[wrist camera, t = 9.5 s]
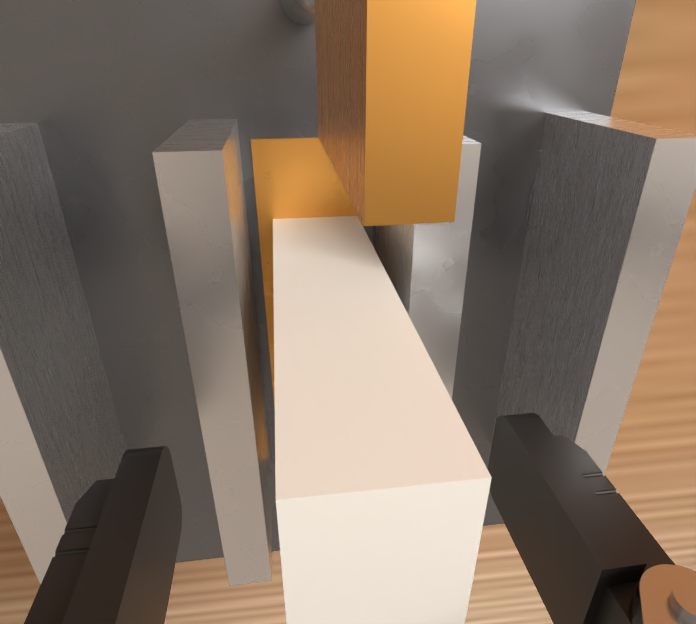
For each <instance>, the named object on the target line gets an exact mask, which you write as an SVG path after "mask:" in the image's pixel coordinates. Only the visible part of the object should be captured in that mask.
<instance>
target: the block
mask: <svg viewBox="0 0 696 624" xmlns="http://www.w3.org/2000/svg"><path fill="white" fill-rule="evenodd" d="M273 290H274V388H275V486H276V510H277V521H278V532H279V543H280V554H281V566H282V577H283V588H284V599H285V610H286V622H287V624H465V619H466V614H467V608H468V603H469V598H470V592H471V587H472V581H473V576H474V570H475V565H476V560H477V554H478V549H479V543H480V538H481V533H482V527H483V522H484V516H485V511H486V506H487V500H488V495H489V489H490V484H491V479H492V477H491V475H490V473H489V471H488V470H487V468H486V466H485V464H484V462H483V460H482V458H481V456H480V454H479V452H478V450H477V448H476V446H475V444H474V442H473V440H472V438H471V436H470V434H469V432H468V431H467V429H466V427H465V425H464V423H463V421H462V419H461V417H460V415H459V413H458V411H457V409H456V407H455V405H454V403H453V401H452V399H451V397H450V395H449V393H448V392H447V390H446V388H445V386H444V384H443V382H442V380H441V378H440V376H439V374H438V372H437V370H436V368H435V366H434V364H433V362H432V360H431V358H430V356H429V354H428V352H427V351H426V349H425V347H424V345H423V343H422V341H421V339H420V337H419V335H418V333H417V331H416V329H415V327H414V325H413V323H412V321H411V319H410V317H409V315H408V313H407V312H406V310H405V308H404V306H403V304H402V302H401V300H400V298H399V296H398V294H397V292H396V290H395V288H394V286H393V284H392V282H391V280H390V278H389V276H388V274H387V273H386V271H385V269H384V267H383V265H382V263H381V261H380V259H379V257H378V255H377V253H376V251H375V249H374V247H373V245H372V243H371V241H370V239H369V237H368V235H367V234H366V232H365V230H364V228H363V226H362V224H361V222H360V220H359V218H358V216H339V217H312V218H285V219H273Z"/></svg>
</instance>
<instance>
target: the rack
mask: <svg viewBox="0 0 696 624" xmlns="http://www.w3.org/2000/svg"><path fill="white" fill-rule="evenodd" d="M635 3H636V0H0V496H1V499H2V501H3V503H4V505H5V507H6V510H7V512H8V514H9V516H10V519H11V521H12V523H13V525H14V527H15V530H16V532H17V534H18V536H19V538H20V541H21V543H22V545H23V547H24V549H25V552H26V554H27V556H28V558H29V561H30V563H31V565H32V567H33V569H34V572H35V574H36V576H37V578H38V580H39V583H40V585H41V583H42V581H43V578H44V576H45V574H46V571H47V569H48V567H49V564H50V562H51V560H52V557H55V550H56V548H57V546H58V543H59V541H60V539H61V536H62V535H64V533H65V530H64V529H65V527H66V525H67V522H68V520H69V518H70V515H71V513H72V511H73V508H74V506H75V504H76V502H77V501H78V500H79V499H80V498H81V497H82V496H83V495H84V494H85V493H86V492H87V490H88V489H89V488H90V487H91V486H92V485H93V484H94V483H95V482H96V481H97V480H105V479H115V476H116V473H117V470H118V468H119V465H120V462H121V459H122V457H123V454H124V453H125V451H126V450H128V449H138V448H149V447H160V446H167V447H168V448H169V450H170V453H171V458H172V462H173V467H174V471H175V476H176V480H177V485H178V489H179V494H180V499H181V505H182V528H181V535H180V541H179V546H178V552H177V557H176V562H175V563H177V562H185V561H194V560H202V559H210V558H219V557H224V559H225V565H226V570H227V576H228V581H229V586H233V585H241V584H249V583H257V582H265V581H272V551H277V550H280V543H279V532H278V521H277V510H276V486H275V388H274V290H273V219H285V218H312V217H339V216H358V218H359V220H360V222H361V224H362V226H363V228H364V230H365V232H366V234H367V235H368V237H369V239H370V241H371V243H372V245H373V247H374V249H375V251H376V253H377V255H378V257H379V259H380V261H381V263H382V265H383V267H384V269H385V271H386V273H387V274H388V276H389V278H390V280H391V282H392V284H393V286H394V288H395V290H396V292H397V294H398V296H399V298H400V300H401V302H402V304H403V306H404V308H405V310H406V312H407V313H408V315H409V317H410V319H411V321H412V323H413V325H414V327H415V329H416V331H417V333H418V335H419V337H420V339H421V341H422V343H423V345H424V347H425V349H426V351H427V352H428V354H429V356H430V358H431V360H432V362H433V364H434V366H435V368H436V370H437V372H438V374H439V376H440V378H441V380H442V382H443V384H444V386H445V388H446V390H447V392H448V393H449V395H450V397H451V399H452V401H453V403H454V405H455V407H456V409H457V411H458V413H459V415H460V417H461V419H462V421H463V423H464V425H465V427H466V429H467V431H468V432H469V434H470V436H471V438H472V440H473V442H474V444H475V446H476V448H477V450H478V452H479V454H480V456H481V458H482V460H483V462H484V464H485V466H486V468H487V470H488V464H489V458H490V452H491V446H492V440H493V434H494V428H495V423H496V420H497V418H498V417H499V416H504V415H514V414H525V413H536V414H537V415H539V416H540V418H541V419H542V420H543V422H544V423H545V424H546V426H547V427H548V428H549V430H550V431H551V433H552V434H553V435H554V436H559V435H564V436H566V437H567V438H568V439H570V440H571V441H572V442H574V443H575V444H577V445H578V446H579V447H581V448H582V449H584V450H585V451H586V452H587V453H588V454H589V455H590V457H591V458H592V459H593V461H594V462H595V463H596V464H597V466H598V467H599V468H600V470H601V471H602V474H603V476H604V474H605V471H606V468H607V465H608V462H609V459H610V456H611V452H612V449H613V446H614V443H615V440H616V437H617V434H618V430H619V427H620V424H621V421H622V418H623V415H624V412H625V408H626V405H627V402H628V399H629V396H630V393H631V390H632V386H633V383H634V380H635V377H636V374H637V371H638V368H639V364H640V361H641V358H642V355H643V352H644V349H645V345H646V342H647V339H648V336H649V333H650V330H651V327H652V323H653V320H654V317H655V314H656V311H657V308H658V305H659V301H660V298H661V295H662V292H663V289H664V286H665V283H666V279H667V276H668V273H669V270H670V267H671V264H672V261H673V257H674V254H675V251H676V248H677V245H678V242H679V239H680V235H681V232H682V229H683V226H684V223H685V220H686V217H687V213H688V210H689V207H690V204H691V201H692V198H693V195H694V191H695V188H696V134H693V133H688V132H683V131H678V130H673V129H669V128H664V127H659V126H654V125H649V124H644V123H639V122H634V121H629V120H624V119H620V118H615V117H610V114H611V110H612V105H613V101H614V96H615V92H616V87H617V83H618V78H619V74H620V70H621V65H622V61H623V56H624V52H625V47H626V43H627V38H628V34H629V29H630V25H631V20H632V16H633V12H634V7H635ZM503 523H504V521H503V519H502V517H501V515H500V513H499V511H498V509H497V507H496V505H495V503H494V501H493V498H492V496H491V493H490V489H489V495H488V500H487V506H486V511H485V516H484V522H483V526H486V525H495V524H503Z"/></svg>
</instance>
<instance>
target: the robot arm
mask: <svg viewBox="0 0 696 624" xmlns="http://www.w3.org/2000/svg"><path fill="white" fill-rule="evenodd" d="M488 471H489V473H490V475H491V477H492V479H491V484H490V493H491V496H492V498H493V501H494V503H495V505H496V507H497V509H498V511H499V513H500V515H501V517H502V519H503V521H504V523H505V525H506V527H507V529H508V531H509V533H510V535H511V537H512V539H513V541H514V544H515V546H516V548H517V550H518V552H519V554H520V556H521V558H522V560H523V562H524V564H525V566H526V568H527V570H528V572H529V574H530V576H531V578H532V580H533V582H534V584H535V586H536V588H537V590H538V592H539V594H540V597H541V599H542V601H543V603H544V605H545V607H546V609H547V611H548V613H549V615H550V617H551V619H552V621H553V623H554V624H696V572H695V571H693V570H691V569H688V568H685V567H681V566H677V565H675V564H674V563H673V561H672V560H671V559H670V558H669V557H668V555H667V554H666V553H665V552H664V550H663V549H662V548H661V546H660V545H659V544H658V543H657V541H656V540H655V539H654V537H653V536H652V535H651V534H650V532H649V531H648V530H647V528H646V527H645V526H644V525H643V523H642V522H641V521H640V519H639V518H638V517H637V516H636V514H635V513H634V512H633V511H632V509H631V508H630V507H629V505H628V504H627V503H626V502H625V500H624V499H623V498H622V496H621V495H620V494H619V493H618V494H617V493H616V489H615V487H614V486H613V485H612V484H611V482H610V481H609V480H608V478H607V477H606V476H603V474H602V471H601V470H600V468H599V467H598V466H597V464H596V463H595V462H594V461H593V459H592V458H591V457H590V455H589V454H588V453H587V452H586V451H585V450H584V449H582V448H581V447H579V446H578V445H577V444H575V443H574V442H572V441H571V440H570V439H568V438H567V437H566V436H564V435H559V436H554V435H553V434H552V433H551V431H550V430H549V428H548V427H547V426H546V424H545V423H544V422H543V420H542V419H541V418H540V416H539V415H537V414H536V413H525V414H514V415H504V416H499V417H498V418H497V420H496V423H495V428H494V434H493V440H492V446H491V452H490V458H489V464H488ZM181 528H182V505H181V499H180V494H179V489H178V485H177V480H176V476H175V471H174V467H173V462H172V458H171V453H170V450H169V448H168V447H167V446H160V447H149V448H138V449H128V450H126V451H125V453H124V454H123V457H122V459H121V462H120V465H119V468H118V470H117V473H116V476H115V479H105V480H97V481H96V482H95V483H94V484H93V485H92V486H91V487H90V488H89V489H88V490H87V492H86V493H85V494H84V495H83V496H82V497H81V498H80V499H79V500H78V501H77V502H76V504H75V506H74V508H73V511H72V513H71V515H70V518H69V520H68V522H67V525H66V527H65V529H64V530H65V533H64V535H62V536H61V539H60V541H59V543H58V546H57V548H56V550H55V557H52V560H51V562H50V564H49V567H48V569H47V571H46V574H45V576H44V578H43V581H42V583H41V585H40V588H39V590H38V592H37V595H36V597H35V599H34V602H33V604H32V606H31V609H30V611H29V613H28V616H27V618H26V620H25V623H24V624H164V622H165V616H166V611H167V605H168V600H169V595H170V589H171V584H172V579H173V573H174V568H175V562H176V557H177V552H178V546H179V541H180V535H181Z"/></svg>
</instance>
